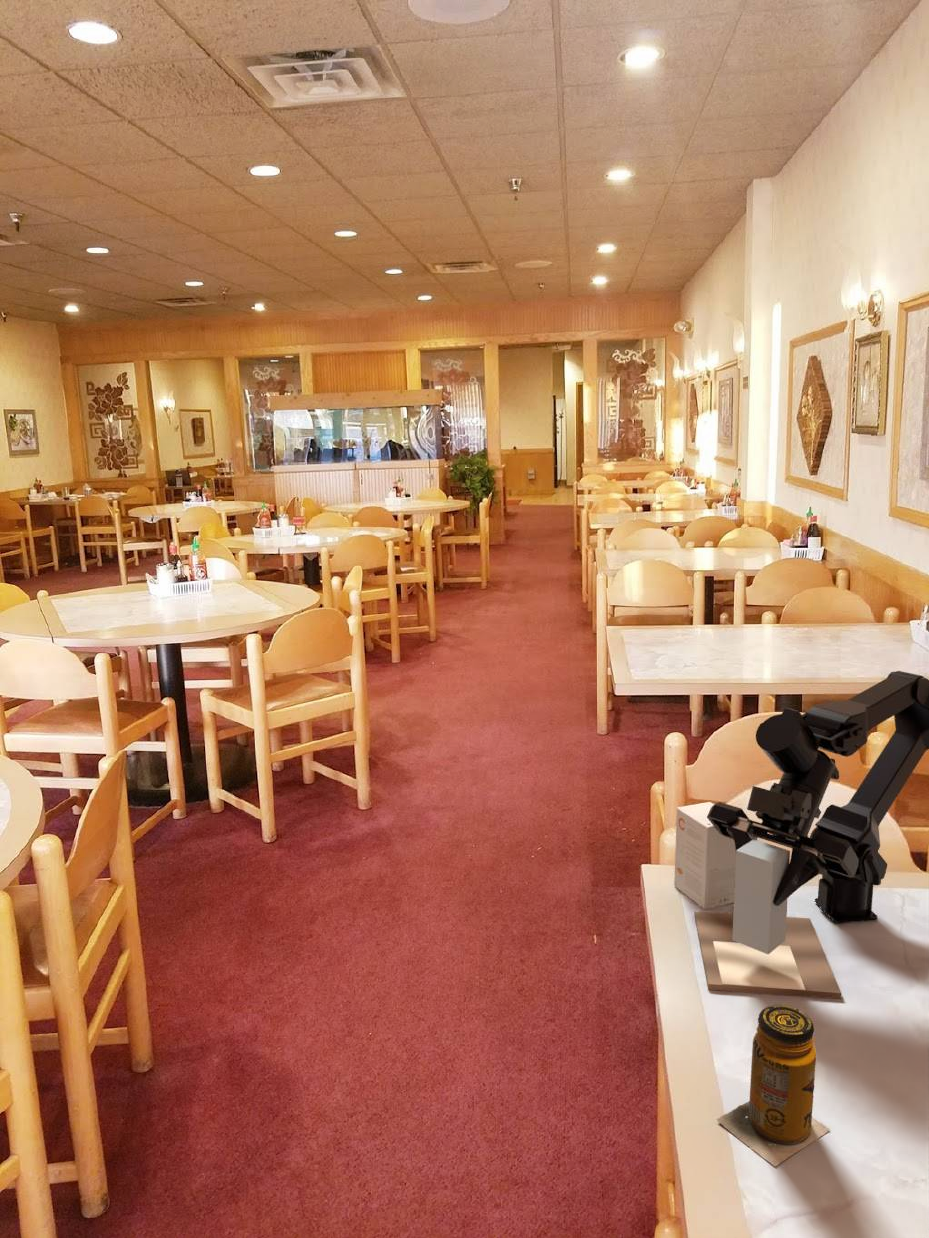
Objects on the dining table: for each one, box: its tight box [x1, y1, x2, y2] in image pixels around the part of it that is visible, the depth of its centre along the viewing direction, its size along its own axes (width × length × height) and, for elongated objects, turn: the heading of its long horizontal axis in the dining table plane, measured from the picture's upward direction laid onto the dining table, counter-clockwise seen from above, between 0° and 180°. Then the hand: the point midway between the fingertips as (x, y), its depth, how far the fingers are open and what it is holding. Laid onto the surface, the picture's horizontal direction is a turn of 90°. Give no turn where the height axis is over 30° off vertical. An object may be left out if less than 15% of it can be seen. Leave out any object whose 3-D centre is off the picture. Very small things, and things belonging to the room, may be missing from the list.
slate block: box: [732, 839, 791, 954], centre depth 119 cm, size 4×5×12 cm
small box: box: [673, 801, 736, 910], centre depth 140 cm, size 8×6×13 cm
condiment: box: [716, 1004, 831, 1167], centre depth 93 cm, size 7×8×12 cm
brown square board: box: [694, 911, 842, 1000], centre depth 125 cm, size 18×16×1 cm
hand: (755, 897), depth 118 cm, fingers closed on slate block, 5 cm apart
